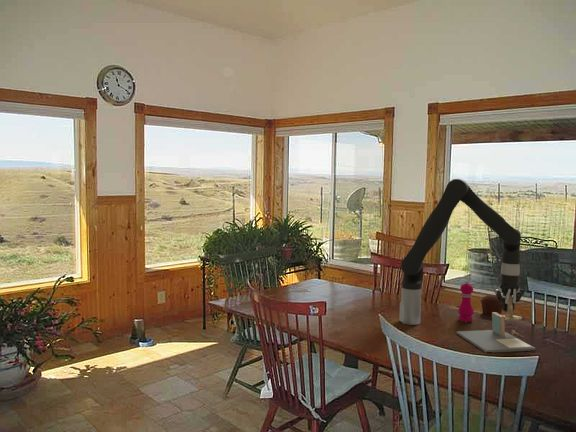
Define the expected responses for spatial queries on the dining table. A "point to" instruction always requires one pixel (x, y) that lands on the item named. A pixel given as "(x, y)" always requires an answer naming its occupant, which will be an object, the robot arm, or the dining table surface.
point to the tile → (498, 324)
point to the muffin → (491, 305)
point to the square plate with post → (510, 311)
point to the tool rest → (513, 343)
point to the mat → (490, 341)
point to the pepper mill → (466, 303)
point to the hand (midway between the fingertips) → (508, 311)
